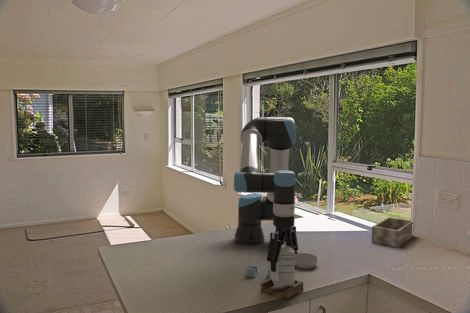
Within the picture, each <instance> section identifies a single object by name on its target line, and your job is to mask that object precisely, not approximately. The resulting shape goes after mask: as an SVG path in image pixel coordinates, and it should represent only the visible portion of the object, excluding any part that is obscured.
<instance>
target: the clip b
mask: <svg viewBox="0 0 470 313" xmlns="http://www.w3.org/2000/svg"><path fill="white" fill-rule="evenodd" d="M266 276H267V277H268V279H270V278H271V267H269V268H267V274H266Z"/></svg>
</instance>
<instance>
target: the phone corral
mask: <svg viewBox="0 0 470 313" xmlns="http://www.w3.org/2000/svg"><path fill="white" fill-rule="evenodd" d="M411 221H412V220H409V219H404V218H403V219H402V218H396V217H390V216H389V217H387V218H385V219H384V220H381V221H380V222H377V223H376V224H374V225H373V226H371V243H374V244H380V245H385V246H391V247H394V248H399V247H401V246H402V245H403V244H405V243H406V242H407V241H408V240H409V239H411V238H412V237H413V236H412V224H413V222H411ZM411 236H412V237H411Z"/></svg>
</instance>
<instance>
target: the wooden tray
mask: <svg viewBox="0 0 470 313" xmlns="http://www.w3.org/2000/svg"><path fill="white" fill-rule="evenodd" d="M303 290H304V281H303V280H299V279H296V278H294V286H274V283H273V281H272V280H271V278H267V279H266V280H264V281H262V282H260V292H262V293H264V294H265V293H266V294H268V295H271V296H275V297H278V298H280V299H282V300H283V299H284V300H285V301H286V300H287V301H288V300H290V299H291V298H293V297H294V296H296V295H297V294H299V293H300V292H302V291H303Z"/></svg>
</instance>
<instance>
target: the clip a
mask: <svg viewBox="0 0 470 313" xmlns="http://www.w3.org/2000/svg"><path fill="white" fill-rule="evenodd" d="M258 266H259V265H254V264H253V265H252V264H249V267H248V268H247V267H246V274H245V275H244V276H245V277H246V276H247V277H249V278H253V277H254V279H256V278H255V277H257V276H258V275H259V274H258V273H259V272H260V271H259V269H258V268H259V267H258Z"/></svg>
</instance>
